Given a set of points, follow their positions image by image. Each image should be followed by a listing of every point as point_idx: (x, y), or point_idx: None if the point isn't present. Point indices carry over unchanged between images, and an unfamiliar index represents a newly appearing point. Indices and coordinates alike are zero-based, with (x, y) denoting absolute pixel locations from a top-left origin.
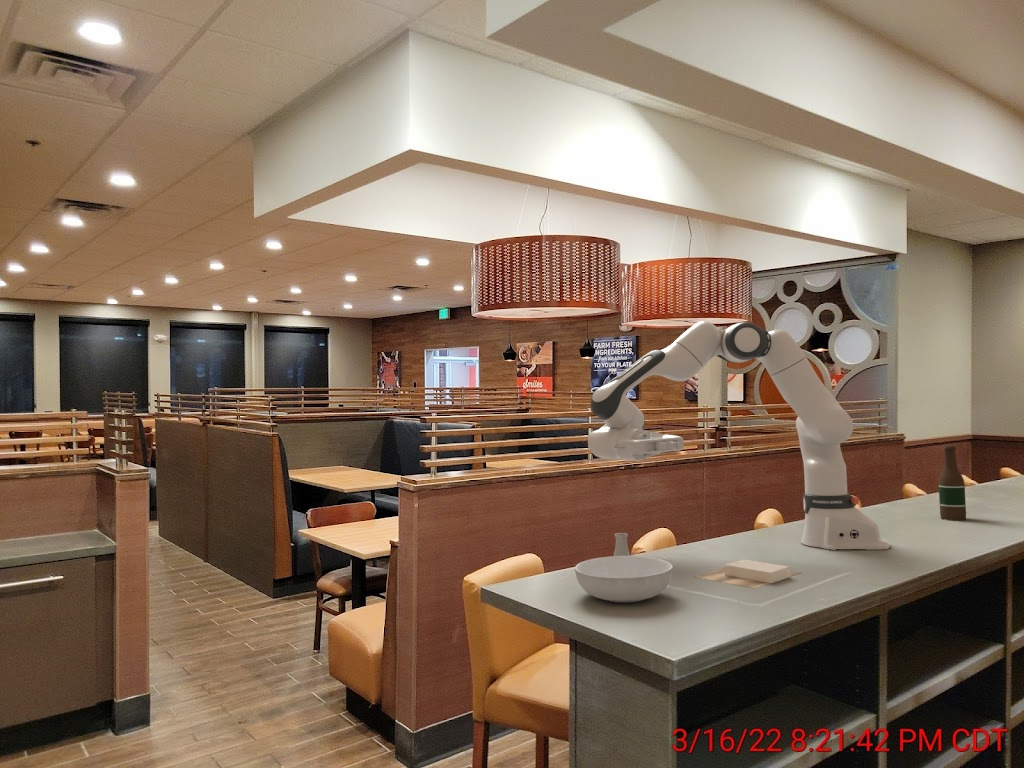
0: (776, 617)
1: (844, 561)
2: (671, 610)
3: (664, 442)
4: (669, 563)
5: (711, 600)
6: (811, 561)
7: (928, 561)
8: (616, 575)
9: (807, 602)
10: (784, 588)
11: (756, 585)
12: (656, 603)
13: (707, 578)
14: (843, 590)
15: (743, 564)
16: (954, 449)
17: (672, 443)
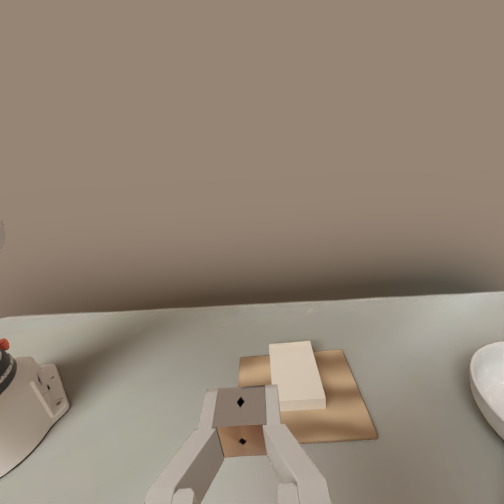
0: (384, 303)
1: (144, 365)
2: None
3: (294, 439)
4: (472, 367)
5: (414, 355)
6: (159, 389)
7: (118, 323)
8: None
9: (328, 311)
10: None
11: (330, 354)
12: None
13: (363, 413)
14: (271, 314)
15: (301, 382)
16: None
17: (274, 384)
